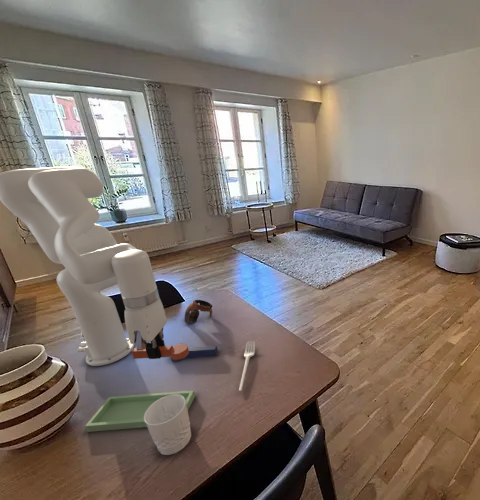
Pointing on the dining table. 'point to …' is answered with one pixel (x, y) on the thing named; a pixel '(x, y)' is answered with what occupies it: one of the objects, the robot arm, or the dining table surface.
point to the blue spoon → (201, 352)
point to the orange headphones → (196, 310)
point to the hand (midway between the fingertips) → (157, 354)
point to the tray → (128, 411)
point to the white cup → (169, 423)
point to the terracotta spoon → (164, 352)
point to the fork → (247, 362)
